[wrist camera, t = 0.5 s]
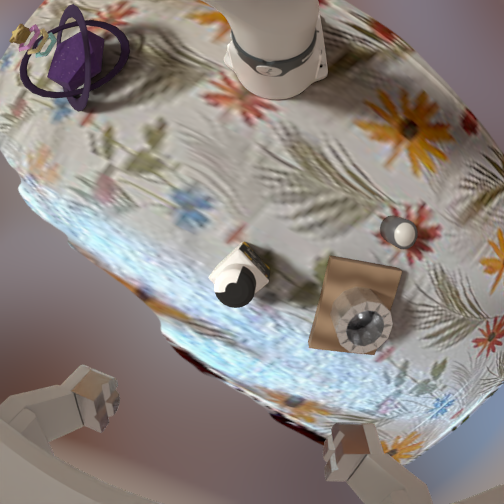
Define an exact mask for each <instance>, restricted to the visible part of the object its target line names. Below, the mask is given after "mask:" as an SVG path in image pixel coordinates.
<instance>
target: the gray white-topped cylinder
mask: <svg viewBox="0 0 504 504" xmlns="http://www.w3.org/2000/svg"><path fill="white" fill-rule="evenodd" d="M380 232H381V235H382V237H383V239H384V240H386V241H387V242H389V243H391V244H393V245H394V246H396V247H398V248H400V249H408V248H410V247H411V246H413V244H414V243H415V241H416V239H417V228H416V226H415V224H414V223H413V222H411V221H410V220H406V219H403V218H400V217H397V216H388V217H386V218H385V219H384V220H383V221H382V223H381V226H380Z"/></svg>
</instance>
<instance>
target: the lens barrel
mask: <svg viewBox="0 0 504 504" xmlns="http://www.w3.org/2000/svg"><path fill="white" fill-rule="evenodd" d="M330 315H331V318H332V322H333V325H334V328H335V331H336V334H337V337H338V340H339V343H340V345H341V346H343V347H344V348H345V349H347V350H348V351H349V352H352V353H362V354H364V353H367V352H370V351H372V350H375V349H377V348H379V347H380V346H381V345H382V344H383V343H384V342H385V341H386V340H387V339H388V337H389V334H390V332H391V329H392V326H393V323H392V317H391V312H390V311H389V310H388V308H387V307H386V306H385V305H384V303H383V302H382V301H381V300H380V298H379V297H378V296H377V295H376V294H375V293H374V292H373V291H371V290H370V289H369V288H363V287H357V286H356V287H354V288H351V289H348V290H346V291H343V292H342V293H341V294H340V295H339V297H338V298H337V299H336V300H335V301H334V302H333V306H332V310H331V313H330Z"/></svg>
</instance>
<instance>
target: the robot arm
mask: <svg viewBox="0 0 504 504" xmlns="http://www.w3.org/2000/svg"><path fill="white" fill-rule="evenodd" d="M202 1H204V2H205V3H207V4H209V5H210V6H212V7H213V8H215V9H216V10H218V11H219V12H221V13H222V14H223V15H224V16H225V17H226V19H227V20H228V22H229V24H230V26H231V34H230V38H232V40H231V42H230V44H228V46H227V48H228V50H227V53H226V55H225V57H224V63H225V65H226V66H227V67H229V68H230V69H231V70H233V71H234V72H235V73H236V74H237V76H238V78H239V80H240V82H241V83H242V84H243V86H244V87H245V88H246V89H248V90H249V91H250V92H252V93H253V94H255V95H257V96H260V97H263V98H267V99H276V100H277V99H286V98H290V97H293V96H296V95H298V94H300V93H301V92H303V91H304V90H305V89H306V88H307V87H308V86H309V85H310V84H312V83H313V82H315V81H318V80H321V79H324V78H325V77H326V76H327V74H328V68H327V60H326V52H325V44H324V37H323V31H322V24H321V18H320V15H319V2H318V0H202ZM317 32H318V33H317ZM320 65H321V66H322V68H320ZM117 386H118V383H117V379H116V378H114V377H112V376H109V375H107V374H105V373H102V372H100V371H97V370H95V369H92V368H90V367H88V366H86V365H81V366H79V367H78V368H77V369H76V370H75V371H74V372H73V374H71V375H70V376H69V377H68V379H66V380H65V382H63V383H62V384H61V385H60V386H59V385H54V386H50V387H46V388H42V389H38V390H34V391H30V392H25V393H21V394H17V395H12V396H10V397H9V398H7V400H6V401H4V402H3V403H2V404H1V405H0V504H163V503H160V502H157V501H154V500H151V499H148V498H145V497H142V496H139V495H136V494H134V493H131V492H128V491H126V490H123V489H120V488H118V487H116V486H114V485H111V484H109V483H107V482H104V481H102V480H100V479H98V478H96V477H94V476H91V475H89V474H87V473H85V472H83V471H81V470H79V469H78V468H75V467H74V466H72V465H70V464H68V463H66V462H65V461H63V460H61V459H59V458H58V457H56V456H54V453H53V450H52V448H51V446H50V444H49V443H48V442H50V441H52V440H54V439H57V438H59V437H61V436H63V435H66V434H68V433H70V432H72V431H74V430H77V429H79V428H81V427H83V425H84V426H86V427H89V428H91V429H93V430H96V431H98V432H100V433H102V432H103V431H104V429H105V428H106V426H107V425H108V423H109V419H108V417H110V416H113V415H114V414H115V413H116V411H117V409H118V406H119V402H120V397H119V393H118V392H117V391H116V387H117ZM331 431H332V434H331V435H329V436H328V437H327V438H326V441H325V443H324V447H323V459H324V460H325V461H326V462H327V464H326V466H325V467H324V470H325V480H326V481H347V483H348V484H349V486H350V487H351V488H352V489H353V491H354V492H355V493H356V494H357V495H358V497H359V498H360V499H361V500H362V501H363V503H364V504H433V502H432V499H431V496H430V493H429V490H428V487H427V485H426V484H425V483H423V482H422V481H421V480H420V479H418V478H417V477H416V476H414V475H413V474H412V473H411V472H409V471H408V470H407V469H405V468H404V467H403V466H402V465H401V464H399V463H398V462H397V461H396V460H395V459H393V458H392V457H391V456H390V455H388V454H384V452H383V449H382V446H381V443H380V439H379V436H378V433H377V430H376V427H375V425H374V424H373V423H361V424H360V423H335V424H334V425H333V427H332V429H331ZM451 504H504V485H499V486H496V487H494V488H491V489H489V490H487V491H484V492H482V493H479V494H477V495H475V496H472V497H469V498H466V499H463V500H460V501H458V502H454V503H451Z"/></svg>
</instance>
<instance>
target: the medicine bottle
mask: <svg viewBox="0 0 504 504" xmlns="http://www.w3.org/2000/svg"><path fill="white" fill-rule="evenodd" d="M269 275H270V268H269V267H268V266H267V265H266V264H265V263H264V262H263V261H262V260H261V258H260V257H259V256H258V255H257V254H256V253H255V252H254V251H253V250H252V249H251V248H250V247H249V246H248V245H247V244H246V243H245V242H242V243H241V244H240V245H239V246H238V247H237V248H236V249H234V250H233V251H232V252H231V253H230V254H229V255H228V256H227V257H226V258H225V259H224V260H222V261H221V262H220V263H219V264H218V265H217V266H216V268H215V269H214V270H213V272H212V273H211V274H210V276H209V279H210V280H211V281H212V282H213V283H214V284H215V285H214V290H215V294H216V296H217V298H218V299H219V300H220V301H221V302H222V303H223V304H224V305H226V306H229V307H233V308H238V307H243V306H245V305H247V304H248V303H249V302H250V301H251V300H252V298H253V296H254V294H255V293H256V292H258V291H259V290H260V289H261V288H262V287H264V286H265V285H266V284H267V283H268V282H269Z"/></svg>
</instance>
